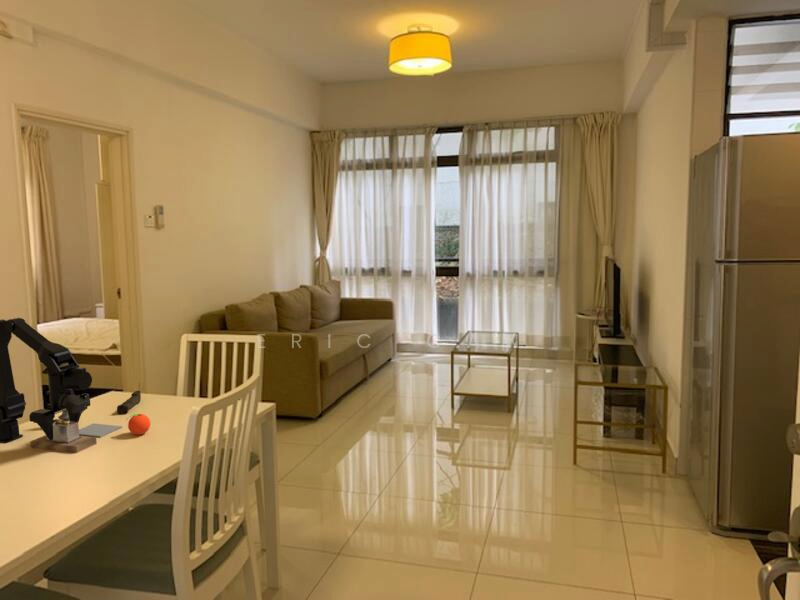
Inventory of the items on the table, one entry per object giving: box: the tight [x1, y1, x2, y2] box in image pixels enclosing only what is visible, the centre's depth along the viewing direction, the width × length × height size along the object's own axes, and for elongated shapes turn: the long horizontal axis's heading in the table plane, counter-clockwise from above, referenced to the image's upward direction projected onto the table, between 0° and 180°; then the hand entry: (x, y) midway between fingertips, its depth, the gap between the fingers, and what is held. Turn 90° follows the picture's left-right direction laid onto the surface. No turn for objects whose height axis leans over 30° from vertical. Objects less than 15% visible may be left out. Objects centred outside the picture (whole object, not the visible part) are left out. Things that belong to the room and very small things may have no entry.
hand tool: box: [116, 390, 142, 415], centre depth 230 cm, size 19×4×5 cm, turn 2°
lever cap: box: [47, 418, 80, 442], centre depth 189 cm, size 8×4×6 cm, turn 75°
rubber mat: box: [79, 423, 123, 438], centre depth 203 cm, size 12×10×1 cm
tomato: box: [126, 413, 151, 436], centre depth 200 cm, size 8×7×7 cm
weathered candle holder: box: [57, 410, 70, 420], centre depth 208 cm, size 6×6×12 cm
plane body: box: [30, 434, 97, 454], centre depth 190 cm, size 18×8×2 cm, turn 75°
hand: (63, 434), depth 189 cm, fingers open, 9 cm apart
